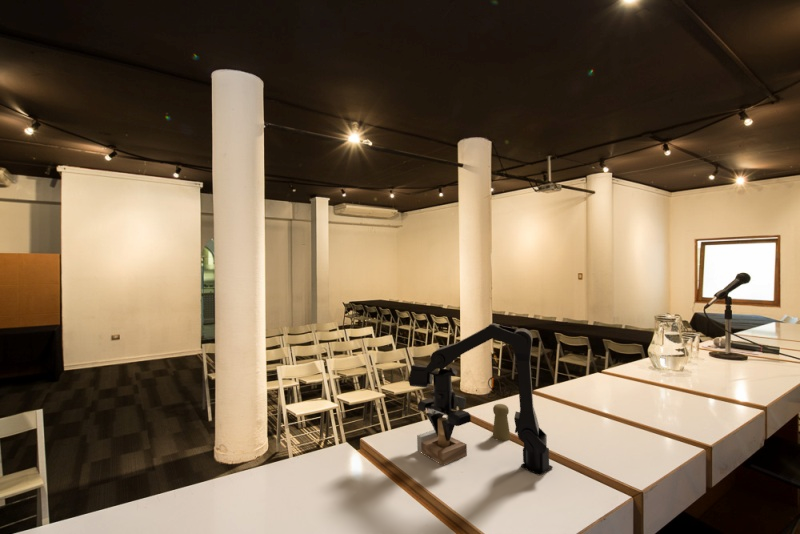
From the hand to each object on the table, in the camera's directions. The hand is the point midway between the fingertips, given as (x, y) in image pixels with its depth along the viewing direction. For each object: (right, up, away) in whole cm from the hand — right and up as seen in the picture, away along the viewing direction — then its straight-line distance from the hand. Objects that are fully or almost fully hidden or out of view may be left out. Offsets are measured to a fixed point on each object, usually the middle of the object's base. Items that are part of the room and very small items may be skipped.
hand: (443, 438), depth 123 cm
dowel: (0, -2, 0) cm, 2 cm away
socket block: (0, -5, 0) cm, 5 cm away
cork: (+21, -5, +12) cm, 25 cm away
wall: (-4, -5, +4) cm, 8 cm away
